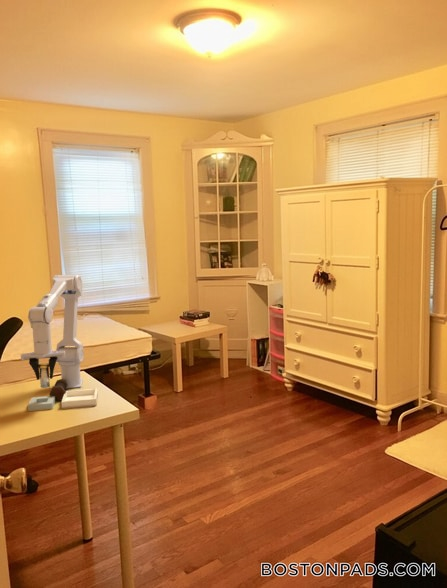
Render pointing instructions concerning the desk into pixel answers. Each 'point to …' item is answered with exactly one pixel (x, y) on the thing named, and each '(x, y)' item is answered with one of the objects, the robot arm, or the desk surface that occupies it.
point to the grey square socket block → (41, 403)
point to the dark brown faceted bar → (58, 389)
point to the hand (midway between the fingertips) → (44, 378)
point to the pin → (44, 375)
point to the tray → (80, 398)
